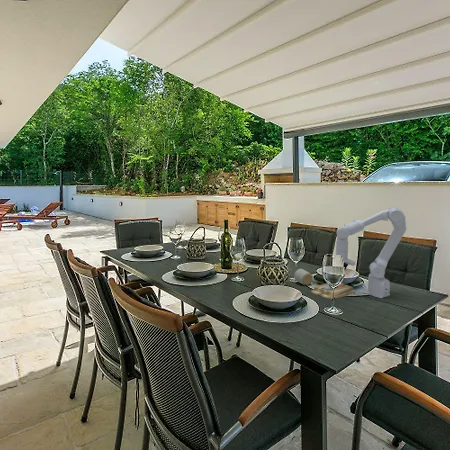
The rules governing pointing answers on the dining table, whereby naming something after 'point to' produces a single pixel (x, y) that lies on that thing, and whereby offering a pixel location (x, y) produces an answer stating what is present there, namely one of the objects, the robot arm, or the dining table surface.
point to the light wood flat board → (329, 294)
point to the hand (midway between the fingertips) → (340, 276)
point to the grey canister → (303, 277)
